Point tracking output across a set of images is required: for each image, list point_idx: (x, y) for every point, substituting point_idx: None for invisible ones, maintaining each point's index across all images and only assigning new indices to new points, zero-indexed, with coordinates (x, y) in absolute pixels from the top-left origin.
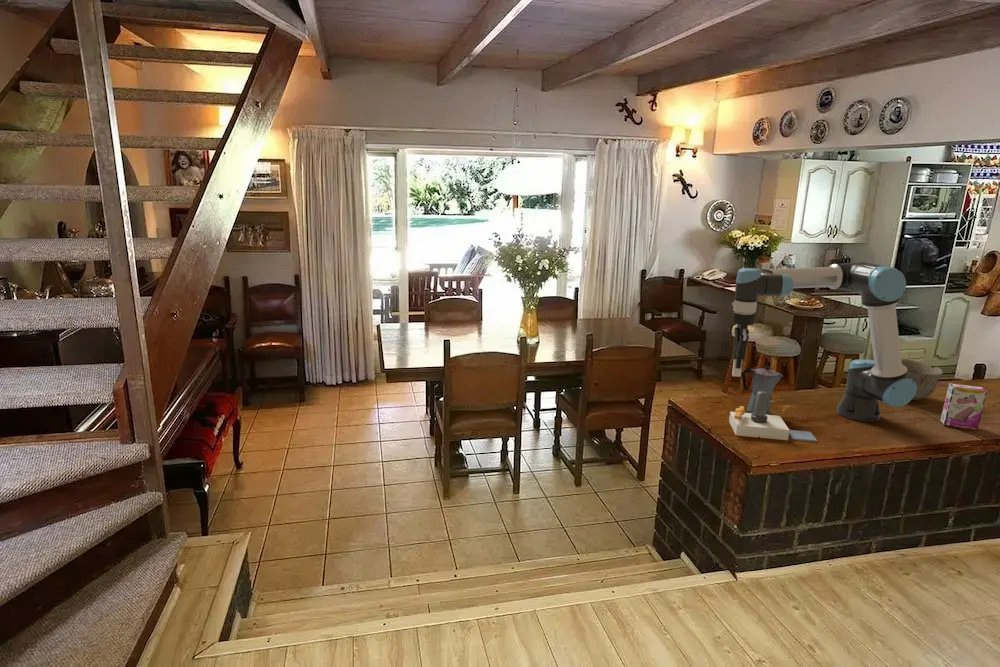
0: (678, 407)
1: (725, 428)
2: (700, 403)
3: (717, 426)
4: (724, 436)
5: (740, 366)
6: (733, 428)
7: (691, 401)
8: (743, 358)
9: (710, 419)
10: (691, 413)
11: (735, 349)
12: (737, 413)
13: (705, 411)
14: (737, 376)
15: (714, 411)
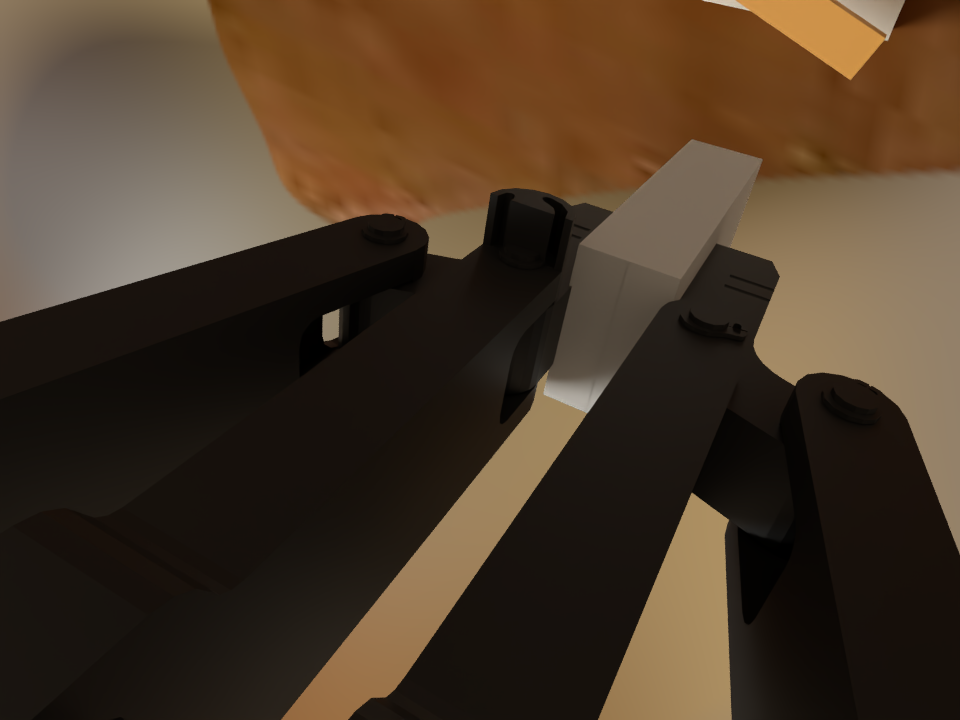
0: None
1: (732, 60)
2: (300, 62)
3: (688, 111)
4: (894, 140)
5: (774, 288)
6: None
7: (282, 111)
8: (893, 440)
9: (559, 109)
10: (467, 198)
11: (445, 509)
12: (794, 20)
13: (425, 85)
14: (743, 208)
15: (416, 14)
